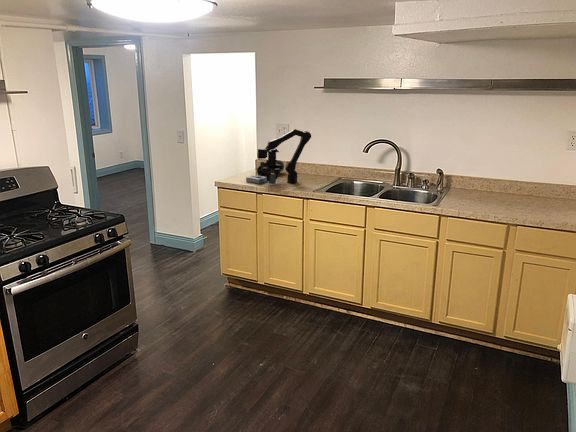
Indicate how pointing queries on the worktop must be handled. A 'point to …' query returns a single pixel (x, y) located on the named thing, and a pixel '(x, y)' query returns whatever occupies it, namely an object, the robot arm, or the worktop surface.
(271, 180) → the plug
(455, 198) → the worktop surface
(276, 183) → the mat
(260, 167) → the muzzle brake
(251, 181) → the outlet block
